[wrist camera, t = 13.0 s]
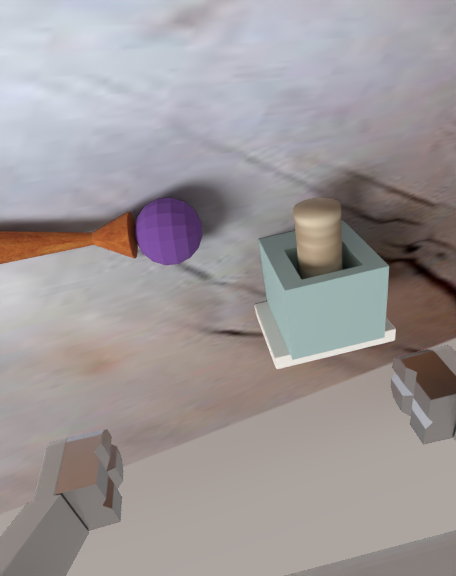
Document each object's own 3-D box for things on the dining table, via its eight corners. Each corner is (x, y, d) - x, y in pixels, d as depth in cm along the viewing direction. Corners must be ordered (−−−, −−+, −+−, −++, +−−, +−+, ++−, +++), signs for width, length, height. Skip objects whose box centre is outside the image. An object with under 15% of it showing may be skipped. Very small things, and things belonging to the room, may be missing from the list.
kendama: (-54, 224, 32) (198, 201, 33) (-18, 209, 38) (198, 189, 38) (-30, 293, 34) (205, 270, 35) (1, 269, 40) (204, 250, 41)
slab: (254, 304, 46) (274, 358, 38) (355, 280, 46) (395, 328, 39) (256, 314, 47) (276, 369, 39) (355, 290, 47) (394, 340, 40)
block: (258, 239, 41) (284, 290, 33) (342, 219, 42) (389, 266, 34) (267, 301, 46) (292, 359, 38) (343, 283, 46) (384, 337, 38)
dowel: (285, 205, 36) (303, 221, 33) (328, 193, 37) (350, 209, 33) (295, 295, 42) (311, 317, 38) (332, 284, 42) (351, 305, 39)
